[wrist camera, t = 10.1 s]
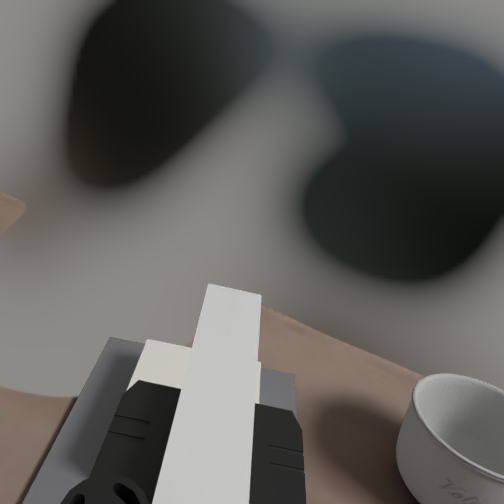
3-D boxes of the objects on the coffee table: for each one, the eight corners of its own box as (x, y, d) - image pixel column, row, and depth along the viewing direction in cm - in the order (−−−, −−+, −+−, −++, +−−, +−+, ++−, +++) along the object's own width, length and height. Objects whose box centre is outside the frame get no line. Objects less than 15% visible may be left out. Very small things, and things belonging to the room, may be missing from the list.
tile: (255, 481, 31) (260, 362, 41) (101, 452, 30) (147, 339, 41) (245, 514, 32) (252, 390, 43) (97, 486, 31) (143, 368, 42)
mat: (306, 645, 26) (309, 640, 26) (-20, 588, 25) (-20, 583, 25) (293, 378, 46) (294, 374, 46) (109, 341, 45) (110, 336, 45)
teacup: (415, 560, 32) (462, 481, 29) (362, 433, 42) (393, 362, 38) (583, 559, 35) (645, 488, 32) (498, 440, 45) (538, 375, 41)
